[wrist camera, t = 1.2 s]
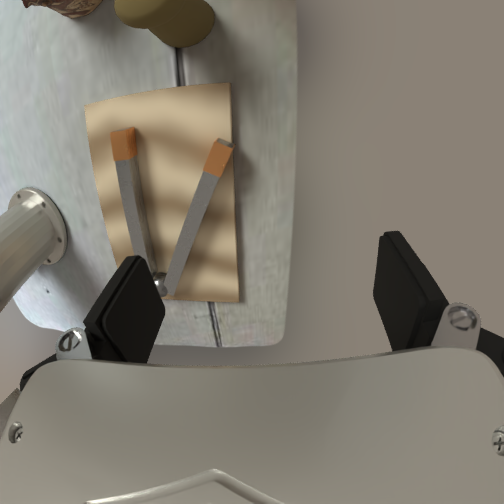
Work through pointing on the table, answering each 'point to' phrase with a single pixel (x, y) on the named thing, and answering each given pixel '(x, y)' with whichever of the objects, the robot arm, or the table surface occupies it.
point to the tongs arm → (195, 215)
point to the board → (172, 181)
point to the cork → (169, 19)
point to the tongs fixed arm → (132, 194)
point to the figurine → (66, 6)
